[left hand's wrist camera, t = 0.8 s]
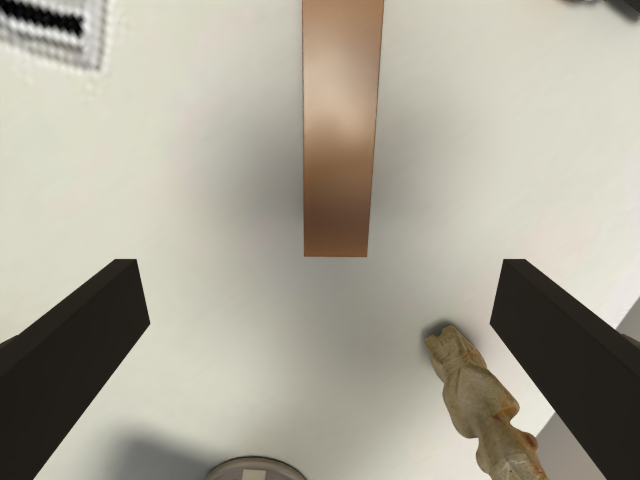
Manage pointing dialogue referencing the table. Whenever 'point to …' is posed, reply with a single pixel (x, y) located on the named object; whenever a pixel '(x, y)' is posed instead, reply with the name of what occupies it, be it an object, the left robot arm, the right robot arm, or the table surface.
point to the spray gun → (636, 0)
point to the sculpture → (483, 409)
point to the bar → (339, 122)
